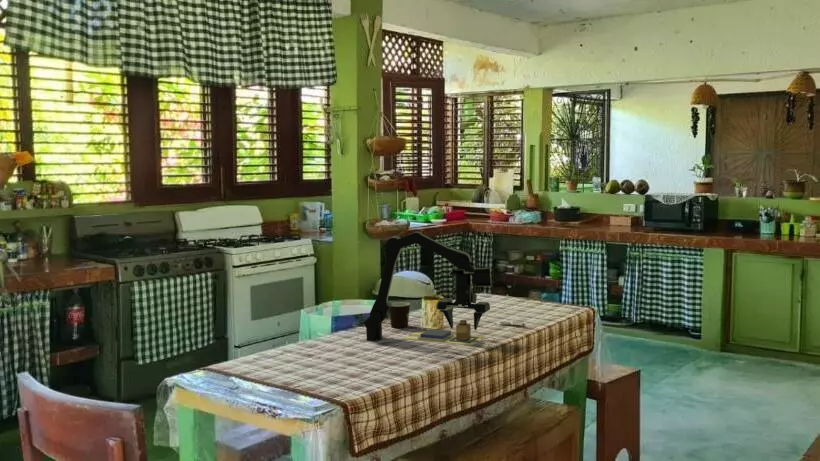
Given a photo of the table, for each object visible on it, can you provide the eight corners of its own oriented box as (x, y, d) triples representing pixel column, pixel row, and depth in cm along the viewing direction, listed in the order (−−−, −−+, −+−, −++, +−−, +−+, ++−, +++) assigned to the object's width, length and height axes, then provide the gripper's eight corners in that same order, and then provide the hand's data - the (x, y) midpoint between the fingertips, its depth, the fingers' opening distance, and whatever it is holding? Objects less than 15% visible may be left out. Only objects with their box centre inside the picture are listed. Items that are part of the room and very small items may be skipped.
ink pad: (443, 341, 275) (442, 336, 275) (418, 339, 279) (417, 334, 279) (453, 335, 284) (453, 330, 284) (429, 333, 288) (429, 328, 288)
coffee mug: (401, 332, 295) (400, 307, 294) (384, 330, 300) (383, 305, 299) (419, 326, 304) (418, 302, 303) (402, 324, 309) (401, 300, 308)
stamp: (466, 341, 274) (466, 322, 274) (456, 340, 276) (456, 321, 275) (470, 338, 278) (470, 319, 277) (460, 337, 280) (460, 319, 279)
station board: (472, 348, 268) (472, 344, 268) (401, 341, 280) (400, 338, 280) (485, 339, 281) (485, 335, 280) (417, 333, 293) (417, 330, 293)
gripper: (494, 284, 278) (495, 326, 280) (447, 282, 286) (448, 322, 288) (484, 289, 268) (485, 333, 270) (435, 286, 276) (436, 329, 278)
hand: (463, 329), depth 276 cm, fingers open, 9 cm apart
